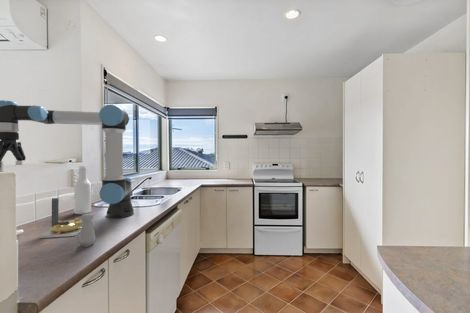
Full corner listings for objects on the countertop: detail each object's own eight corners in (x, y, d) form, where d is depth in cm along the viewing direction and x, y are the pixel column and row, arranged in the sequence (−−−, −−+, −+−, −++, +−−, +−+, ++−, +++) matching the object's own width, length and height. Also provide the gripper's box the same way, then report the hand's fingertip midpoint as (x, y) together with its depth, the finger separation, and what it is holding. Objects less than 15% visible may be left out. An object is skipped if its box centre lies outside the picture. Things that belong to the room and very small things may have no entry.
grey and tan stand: (83, 222, 119) (83, 194, 119) (83, 229, 109) (83, 198, 108) (51, 226, 112) (52, 196, 112) (49, 234, 101) (49, 201, 101)
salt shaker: (86, 241, 97) (86, 211, 97) (98, 242, 96) (98, 212, 96) (75, 247, 91) (75, 215, 91) (88, 248, 91) (88, 216, 90)
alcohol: (70, 213, 139) (70, 165, 138) (83, 210, 147) (83, 164, 147) (82, 215, 137) (82, 166, 136) (94, 211, 145) (94, 165, 145)
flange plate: (90, 223, 121) (90, 220, 121) (75, 235, 103) (75, 232, 103) (60, 225, 117) (60, 222, 117) (39, 238, 100) (39, 234, 100)
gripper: (16, 134, 124) (18, 172, 125) (-23, 129, 100) (-21, 176, 100) (32, 134, 126) (34, 171, 126) (-3, 129, 102) (-1, 175, 102)
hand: (10, 173), depth 113 cm, fingers open, 13 cm apart
